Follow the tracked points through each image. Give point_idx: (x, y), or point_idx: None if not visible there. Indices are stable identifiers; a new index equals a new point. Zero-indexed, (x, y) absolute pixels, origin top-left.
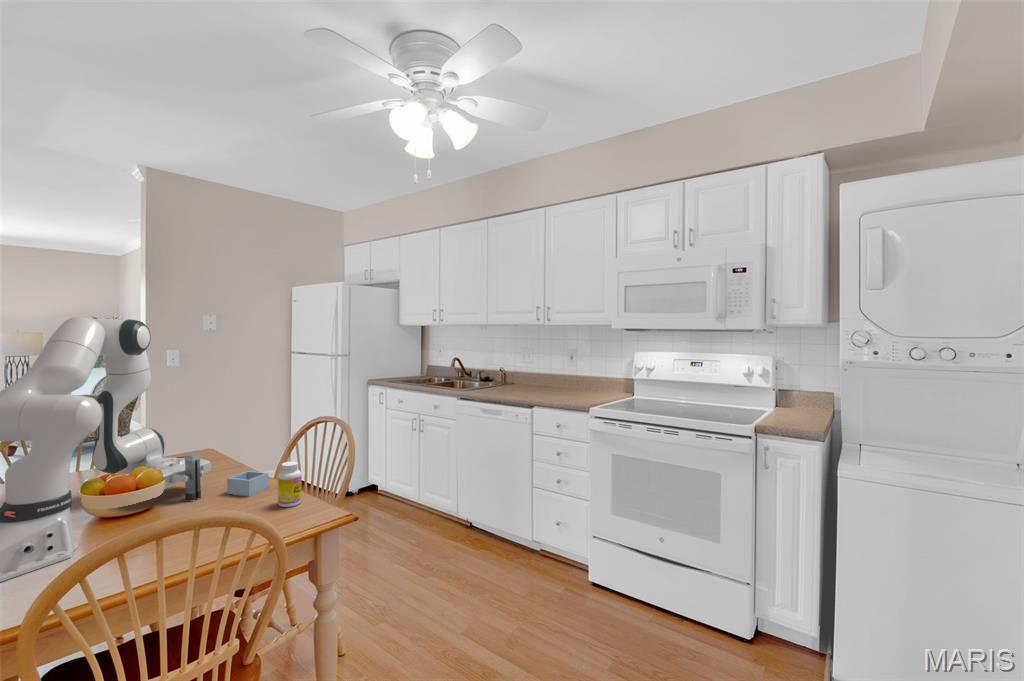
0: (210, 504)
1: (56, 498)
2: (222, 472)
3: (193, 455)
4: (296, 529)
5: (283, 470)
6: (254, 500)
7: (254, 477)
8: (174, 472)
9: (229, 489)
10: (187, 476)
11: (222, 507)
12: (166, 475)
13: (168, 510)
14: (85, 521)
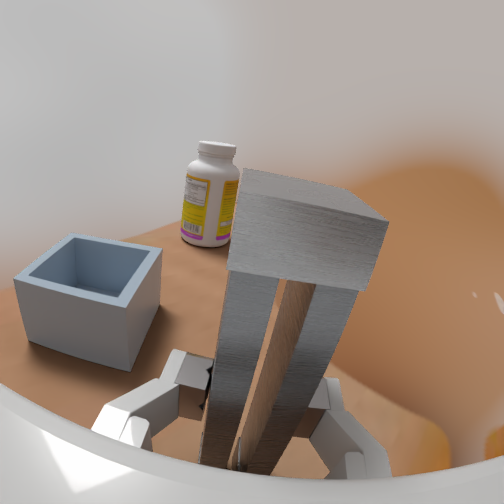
0: (259, 373)
1: None
2: None
3: (323, 186)
4: None
5: (231, 159)
6: (191, 286)
7: (51, 279)
8: (374, 480)
9: (131, 346)
10: (322, 377)
11: (269, 329)
12: (447, 470)
13: None
14: None
